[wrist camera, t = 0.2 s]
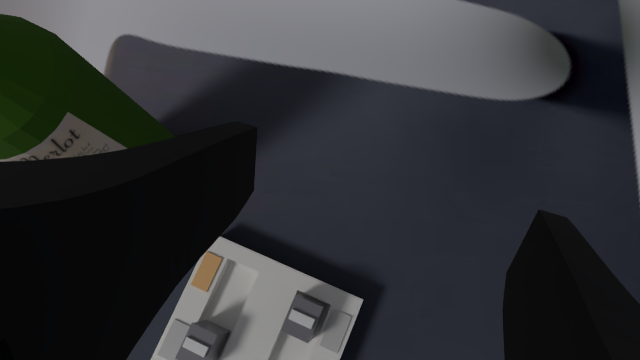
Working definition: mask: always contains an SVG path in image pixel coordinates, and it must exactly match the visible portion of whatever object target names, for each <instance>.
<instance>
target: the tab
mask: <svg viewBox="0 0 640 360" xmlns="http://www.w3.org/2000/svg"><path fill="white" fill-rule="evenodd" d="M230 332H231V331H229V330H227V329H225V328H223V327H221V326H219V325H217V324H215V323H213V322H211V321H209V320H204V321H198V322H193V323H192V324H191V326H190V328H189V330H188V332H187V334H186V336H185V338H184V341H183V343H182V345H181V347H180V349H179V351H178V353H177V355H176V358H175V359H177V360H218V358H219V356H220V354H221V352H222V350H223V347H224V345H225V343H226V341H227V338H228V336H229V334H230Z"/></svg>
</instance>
